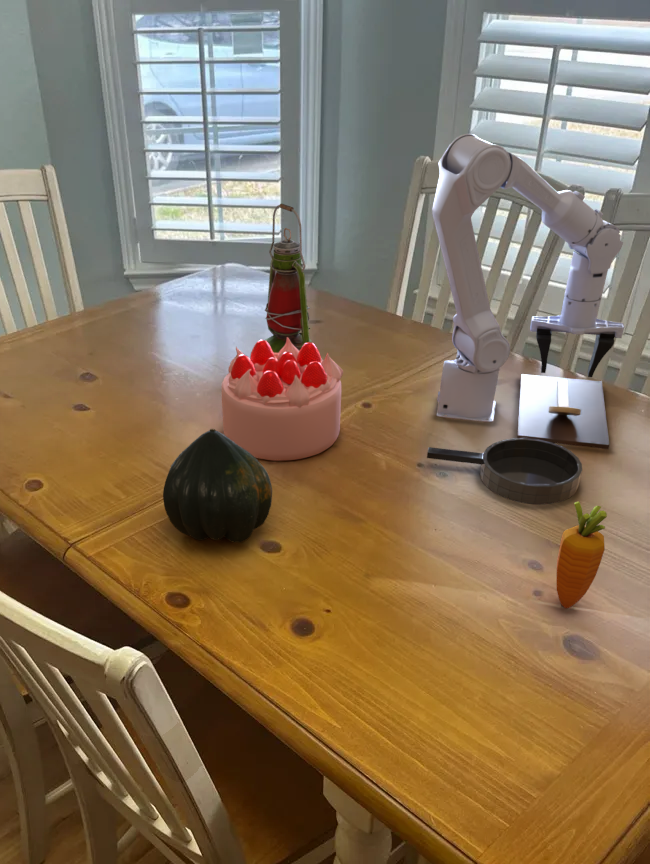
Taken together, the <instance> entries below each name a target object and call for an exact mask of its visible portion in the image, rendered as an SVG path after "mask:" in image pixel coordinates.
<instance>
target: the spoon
mask: <svg viewBox="0 0 650 864" xmlns="http://www.w3.org/2000/svg"><path fill="white" fill-rule="evenodd" d="M557 405H558V406H550V407H549V411H548V412H549V413H553V414H560V415H572V416H578V415H580V413H581V409H577V408H571V407H569V402H568V383H567V380H563V379H558V382H557Z"/></svg>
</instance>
